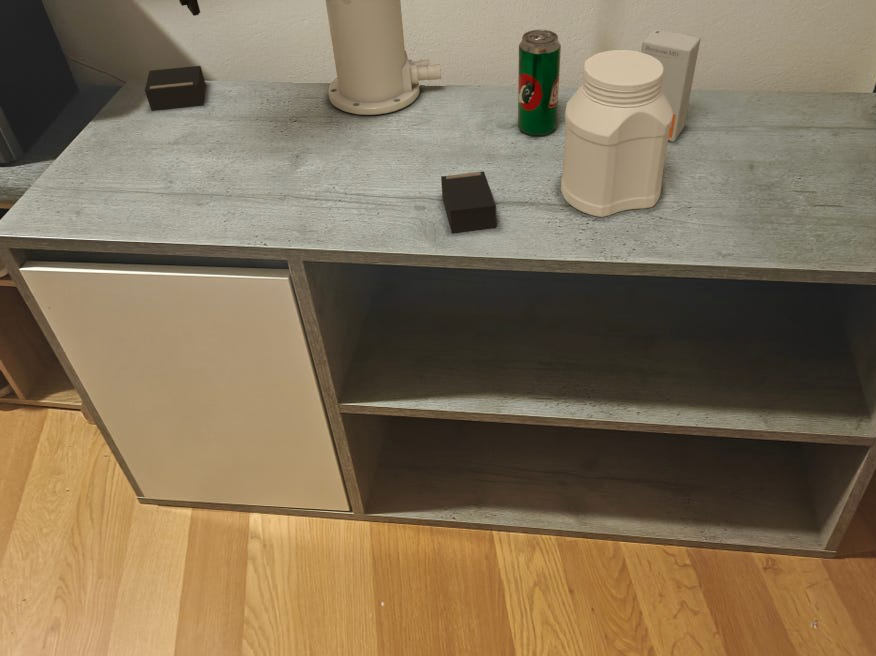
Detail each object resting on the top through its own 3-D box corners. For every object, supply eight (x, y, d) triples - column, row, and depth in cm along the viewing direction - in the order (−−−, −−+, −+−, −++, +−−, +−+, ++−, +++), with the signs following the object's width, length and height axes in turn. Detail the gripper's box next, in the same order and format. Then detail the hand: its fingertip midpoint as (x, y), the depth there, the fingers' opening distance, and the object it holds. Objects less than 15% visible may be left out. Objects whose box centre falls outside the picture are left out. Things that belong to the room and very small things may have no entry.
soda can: (557, 137, 103) (562, 45, 94) (517, 138, 103) (519, 46, 95) (555, 118, 106) (560, 27, 98) (517, 118, 107) (518, 28, 98)
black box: (484, 193, 94) (484, 170, 92) (496, 227, 89) (495, 204, 87) (442, 198, 94) (440, 175, 92) (451, 233, 89) (450, 210, 87)
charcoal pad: (206, 85, 115) (200, 64, 113) (203, 105, 111) (197, 84, 109) (155, 90, 114) (149, 69, 112) (151, 110, 110) (144, 89, 108)
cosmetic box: (629, 133, 103) (640, 41, 95) (640, 118, 106) (652, 27, 98) (675, 143, 101) (690, 50, 93) (685, 128, 104) (701, 36, 95)
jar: (638, 161, 98) (654, 40, 88) (673, 203, 92) (695, 78, 81) (549, 177, 96) (555, 55, 86) (579, 222, 90) (589, 96, 79)
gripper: (101, -177, 66) (164, 32, 78) (302, -203, 71) (331, -4, 83) (86, -193, 70) (147, 6, 82) (276, -216, 76) (307, -27, 88)
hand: (240, 1), depth 83 cm, fingers open, 9 cm apart
